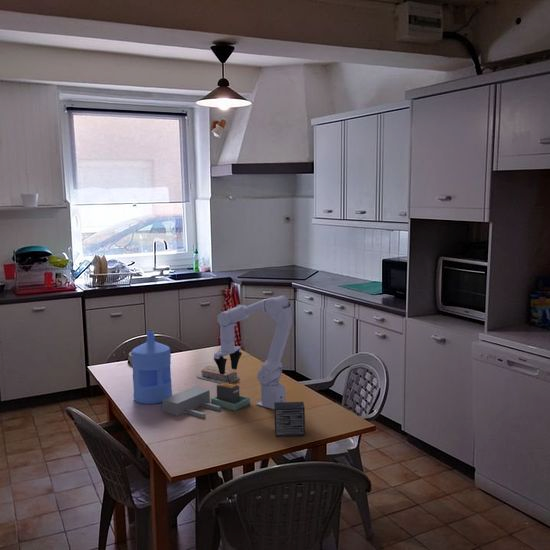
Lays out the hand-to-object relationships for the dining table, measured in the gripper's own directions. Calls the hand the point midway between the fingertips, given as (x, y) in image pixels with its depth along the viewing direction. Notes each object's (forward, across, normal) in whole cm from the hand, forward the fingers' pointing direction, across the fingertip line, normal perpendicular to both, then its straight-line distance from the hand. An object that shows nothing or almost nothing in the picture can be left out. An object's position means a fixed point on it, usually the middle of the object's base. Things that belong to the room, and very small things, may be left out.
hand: (228, 371), depth 239 cm
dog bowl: (+11, -13, -66) cm, 68 cm away
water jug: (+11, +20, -24) cm, 33 cm away
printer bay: (+10, +19, -1) cm, 22 cm away
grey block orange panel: (+10, +7, +6) cm, 13 cm away
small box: (+11, +16, +42) cm, 46 cm away
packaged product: (+11, -14, -19) cm, 26 cm away
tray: (+10, +7, +7) cm, 14 cm away
